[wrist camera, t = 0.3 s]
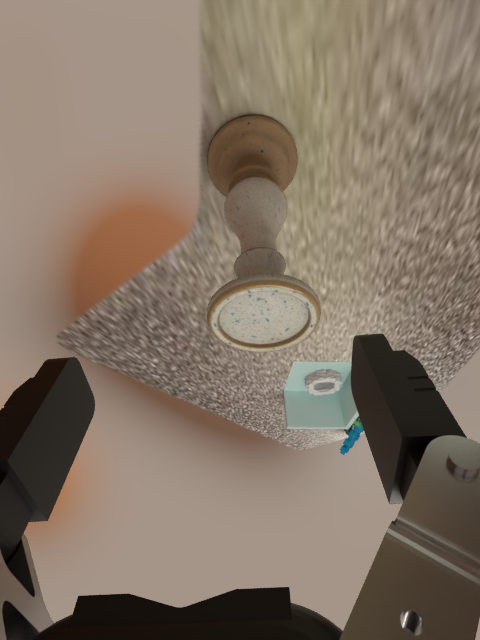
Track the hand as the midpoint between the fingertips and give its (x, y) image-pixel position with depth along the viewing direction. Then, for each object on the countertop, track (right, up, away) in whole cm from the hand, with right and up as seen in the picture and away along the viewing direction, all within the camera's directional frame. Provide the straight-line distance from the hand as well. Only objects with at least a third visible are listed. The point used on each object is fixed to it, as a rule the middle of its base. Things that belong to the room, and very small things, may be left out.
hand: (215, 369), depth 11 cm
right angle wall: (+16, -10, +62) cm, 64 cm away
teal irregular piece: (+26, -21, +77) cm, 84 cm away
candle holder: (+2, +17, +27) cm, 32 cm away
